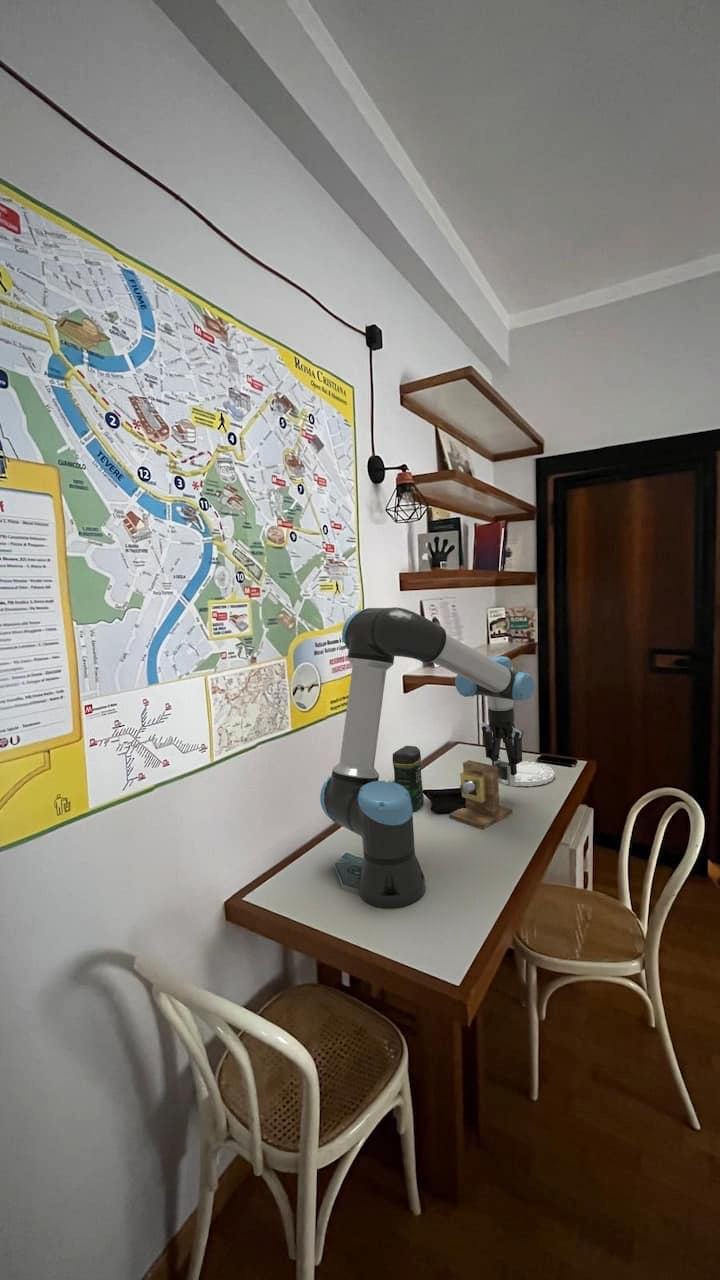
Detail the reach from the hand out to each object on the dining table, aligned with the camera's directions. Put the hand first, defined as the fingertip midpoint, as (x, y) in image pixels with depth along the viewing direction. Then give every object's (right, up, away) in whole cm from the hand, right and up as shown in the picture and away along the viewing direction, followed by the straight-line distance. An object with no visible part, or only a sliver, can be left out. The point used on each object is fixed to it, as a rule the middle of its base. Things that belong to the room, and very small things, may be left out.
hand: (505, 782), depth 164 cm
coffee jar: (-29, -8, +4) cm, 30 cm away
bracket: (-8, -7, -7) cm, 13 cm away
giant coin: (+12, -4, +21) cm, 24 cm away
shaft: (-7, +1, -6) cm, 9 cm away
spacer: (-12, +2, -10) cm, 15 cm away
